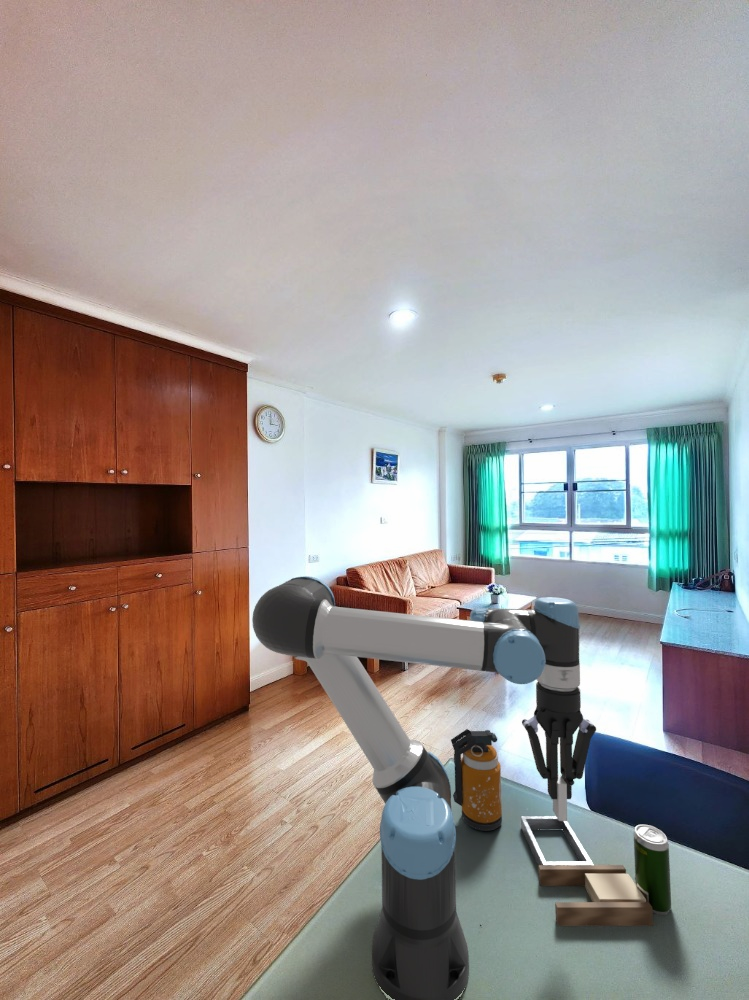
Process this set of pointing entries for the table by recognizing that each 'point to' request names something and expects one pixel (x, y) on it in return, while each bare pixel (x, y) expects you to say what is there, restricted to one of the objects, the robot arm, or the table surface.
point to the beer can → (653, 867)
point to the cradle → (552, 823)
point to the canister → (478, 779)
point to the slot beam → (593, 910)
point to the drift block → (612, 888)
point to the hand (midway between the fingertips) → (559, 815)
